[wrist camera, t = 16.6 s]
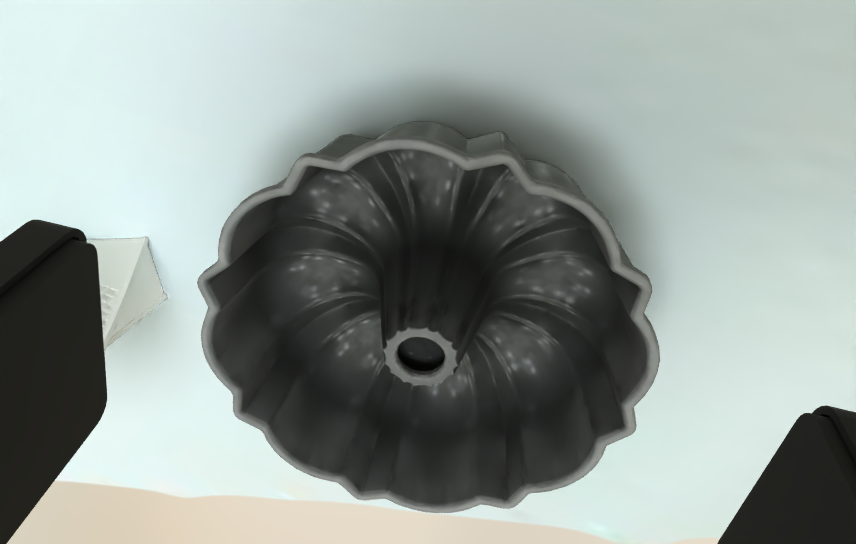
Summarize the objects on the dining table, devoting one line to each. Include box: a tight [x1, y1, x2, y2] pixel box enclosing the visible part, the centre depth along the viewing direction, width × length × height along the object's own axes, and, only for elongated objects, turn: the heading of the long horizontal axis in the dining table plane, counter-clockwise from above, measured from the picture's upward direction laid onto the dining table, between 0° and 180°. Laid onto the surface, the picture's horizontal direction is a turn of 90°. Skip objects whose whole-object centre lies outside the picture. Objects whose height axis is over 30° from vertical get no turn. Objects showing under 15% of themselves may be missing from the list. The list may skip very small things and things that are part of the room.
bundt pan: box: [197, 121, 660, 513], centre depth 45 cm, size 26×26×10 cm
